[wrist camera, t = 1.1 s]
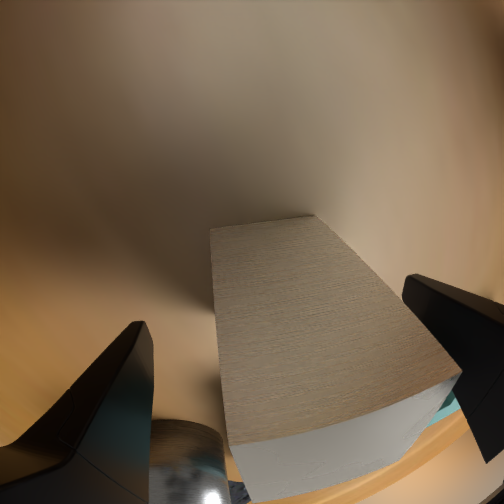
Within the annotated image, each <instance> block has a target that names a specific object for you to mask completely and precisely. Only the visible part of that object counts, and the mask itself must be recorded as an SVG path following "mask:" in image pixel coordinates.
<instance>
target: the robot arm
mask: <svg viewBox="0 0 504 504" xmlns="http://www.w3.org/2000/svg"><path fill="white" fill-rule="evenodd" d="M402 300H403V302H404V304H405V305H406V306H407V307H408V308H409V309H410V310H411V311H412V312H413V313H414V315H415V316H416V317H417V318H418V319H419V320H420V321H421V322H422V324H423V325H424V326H425V327H426V328H427V329H428V330H429V331H430V333H431V334H432V335H433V336H434V337H435V338H436V340H437V341H438V342H439V343H440V344H441V345H442V347H443V348H444V349H445V350H446V351H447V353H448V354H449V355H450V356H451V357H452V359H453V360H454V361H455V362H456V364H457V365H458V366H459V367H460V369H461V370H462V373H461V375H460V376H459V378H458V380H457V381H456V383H455V385H454V386H453V388H452V392H453V394H454V396H455V398H456V400H457V402H458V403H459V405H460V407H461V409H462V412H463V414H464V416H465V418H466V419H467V422H468V424H469V426H470V429H471V431H472V433H473V435H474V437H475V440H476V442H477V444H478V446H479V449H480V451H481V454H482V456H483V458H484V461H485V462H486V464H487V463H488V462H489V461H491V460H492V459H493V458H494V457H495V456H497V455H498V454H499V453H500V452H501V451H502V450H504V305H503V304H500V303H497V302H494V301H492V300H489V299H487V298H484V297H481V296H478V295H476V294H473V293H470V292H467V291H465V290H462V289H459V288H456V287H454V286H451V285H448V284H445V283H442V282H439V281H437V280H434V279H431V278H428V277H425V276H422V275H419V274H412V275H408V276H407V277H406V279H405V283H404V287H403V292H402ZM153 393H154V359H153V341H152V338H151V335H150V332H149V330H148V327H147V325H146V323H145V321H133V322H131V323H130V324H129V325H128V326H127V327H126V328H125V329H124V330H123V331H122V332H121V334H120V335H119V336H118V337H117V338H116V339H115V340H114V341H113V342H112V343H111V344H110V345H109V346H108V347H107V348H106V349H105V350H104V351H103V352H102V353H101V354H100V355H99V357H98V358H97V359H96V360H95V361H94V362H93V363H92V364H91V365H90V366H89V367H88V368H87V369H86V370H85V371H84V373H83V374H82V375H81V376H80V377H79V378H78V379H77V380H76V381H75V382H74V383H73V384H72V386H71V387H70V389H68V390H67V391H66V392H65V393H64V394H63V395H62V396H61V397H60V399H59V400H58V401H57V402H56V403H55V404H54V405H53V406H52V407H51V408H50V409H49V410H48V411H47V412H46V413H45V414H44V415H43V416H42V417H41V418H40V419H38V420H37V421H36V422H35V423H34V424H33V425H32V426H31V427H30V428H29V429H28V430H27V431H26V432H25V433H24V434H22V435H21V436H20V437H19V438H18V439H17V440H16V441H14V442H13V443H11V444H9V445H6V446H3V447H0V504H149V458H150V435H151V419H152V405H153ZM479 504H504V480H503V484H502V485H501V486H500V487H499V488H498V489H496V490H495V491H494V492H493V493H492V494H491V495H489V496H488V497H487V498H486V499H484V500H483V501H482V502H481V503H479Z"/></svg>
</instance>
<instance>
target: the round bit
mask: <svg viewBox="0 0 504 504" xmlns="http://www.w3.org/2000/svg"><path fill="white" fill-rule="evenodd" d="M149 504H231V499H230V492H229V485H228V478H227V471H226V463H225V455H224V447H223V439H222V437H221V435H220V434H219V433H218V432H217V431H216V430H214V429H212V428H210V427H208V426H205V425H202V424H199V423H195V422H190V421H184V420H154V421H151V435H150V458H149Z"/></svg>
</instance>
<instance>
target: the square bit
mask: <svg viewBox="0 0 504 504" xmlns="http://www.w3.org/2000/svg"><path fill="white" fill-rule="evenodd" d="M210 246H211V264H212V280H213V294H214V308H215V321H216V333H217V344H218V355H219V365H220V375H221V385H222V394H223V403H224V411H225V420H226V428H227V436H228V443H229V448H230V450H231V453H232V456H233V458H234V461H235V463H236V466H237V468H238V470H239V473H240V475H241V478H242V480H243V482H244V485H245V487H246V489H247V492H248V494H249V496H250V498H251V501H252V503H258V502H264V501H270V500H276V499H281V498H286V497H291V496H295V495H300V494H304V493H308V492H312V491H316V490H319V489H323V488H326V487H330V486H333V485H336V484H340V483H343V482H346V481H349V480H352V479H354V478H357V477H360V476H363V475H365V474H368V473H371V472H373V471H376V470H378V469H381V468H383V467H385V466H388V465H390V464H392V463H395V462H397V461H399V460H400V459H401V457H402V456H403V455H404V454H405V453H406V452H407V450H408V449H409V448H410V447H411V446H412V444H413V443H414V442H415V441H416V439H417V438H418V437H419V436H420V434H421V433H422V432H423V430H424V429H425V428H426V426H427V425H428V424H429V422H430V421H431V420H432V418H433V417H434V415H435V414H436V413H437V411H438V410H439V408H440V407H441V405H442V404H443V402H444V401H445V399H446V398H447V396H448V394H449V393H450V391H451V390H452V388H453V386H454V385H455V383H456V381H457V380H458V378H459V376H460V375H461V373H462V370H461V369H460V367H459V366H458V365H457V364H456V362H455V361H454V360H453V359H452V357H451V356H450V355H449V354H448V353H447V351H446V350H445V349H444V348H443V347H442V345H441V344H440V343H439V342H438V341H437V340H436V338H435V337H434V336H433V335H432V334H431V333H430V331H429V330H428V329H427V328H426V327H425V326H424V325H423V324H422V322H421V321H420V320H419V319H418V318H417V317H416V316H415V315H414V313H413V312H412V311H411V310H410V309H409V308H408V307H407V306H406V305H405V304H404V302H403V301H402V300H401V299H400V298H399V297H398V296H397V295H396V294H395V293H394V292H393V291H392V290H391V289H390V288H389V286H388V285H387V284H386V283H385V282H384V281H383V280H382V279H381V278H380V277H379V276H378V275H377V274H376V273H375V272H374V271H373V270H372V269H371V268H370V267H369V266H368V265H367V264H366V263H365V262H364V261H363V260H362V259H361V258H360V257H359V256H358V255H357V254H356V253H355V252H354V251H353V250H352V249H351V248H350V247H349V246H348V245H347V244H346V243H345V242H344V241H343V240H342V239H341V238H340V237H339V236H338V235H337V234H336V233H335V232H333V231H332V230H331V229H330V228H329V227H328V226H327V225H326V224H325V223H324V222H323V221H322V220H321V219H320V218H319V217H317V216H316V215H314V216H306V217H297V218H289V219H281V220H273V221H265V222H257V223H249V224H242V225H234V226H227V227H220V228H213V229H210Z"/></svg>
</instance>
